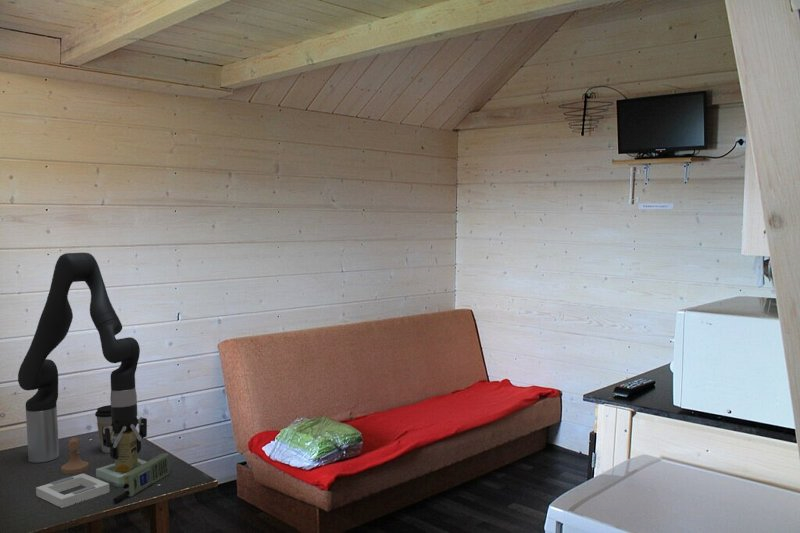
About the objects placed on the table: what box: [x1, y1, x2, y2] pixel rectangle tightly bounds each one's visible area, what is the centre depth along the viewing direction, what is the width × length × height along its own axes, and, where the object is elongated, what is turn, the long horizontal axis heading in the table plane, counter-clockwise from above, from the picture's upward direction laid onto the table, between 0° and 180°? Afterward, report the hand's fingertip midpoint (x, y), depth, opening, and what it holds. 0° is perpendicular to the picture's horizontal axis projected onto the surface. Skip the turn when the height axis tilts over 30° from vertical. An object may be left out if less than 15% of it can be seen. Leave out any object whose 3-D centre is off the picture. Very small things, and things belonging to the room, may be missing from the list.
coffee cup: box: [94, 404, 114, 454], centre depth 240 cm, size 9×9×15 cm
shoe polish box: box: [114, 431, 139, 472], centre depth 214 cm, size 5×5×12 cm
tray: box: [95, 458, 147, 488], centre depth 215 cm, size 13×13×3 cm
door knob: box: [60, 437, 90, 475], centre depth 222 cm, size 8×10×8 cm
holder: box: [35, 473, 111, 509], centre depth 201 cm, size 15×14×3 cm
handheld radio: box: [113, 452, 171, 503], centre depth 205 cm, size 7×3×25 cm
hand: (126, 455), depth 214 cm, fingers closed on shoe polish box, 7 cm apart
